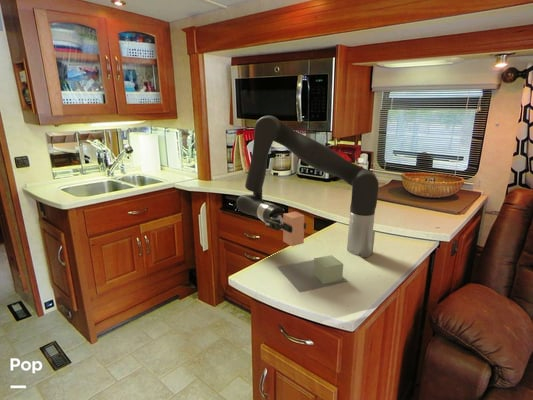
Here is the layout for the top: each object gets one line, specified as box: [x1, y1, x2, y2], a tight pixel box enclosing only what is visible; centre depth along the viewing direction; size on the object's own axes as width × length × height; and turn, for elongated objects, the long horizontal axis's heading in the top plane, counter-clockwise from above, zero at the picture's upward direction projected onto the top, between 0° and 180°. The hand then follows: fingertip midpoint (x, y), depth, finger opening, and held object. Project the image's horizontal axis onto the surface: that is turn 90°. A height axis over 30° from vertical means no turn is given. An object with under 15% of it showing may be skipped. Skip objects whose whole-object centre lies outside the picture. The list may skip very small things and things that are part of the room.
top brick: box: [282, 211, 305, 247], centre depth 116 cm, size 5×5×10 cm
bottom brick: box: [313, 254, 344, 284], centre depth 115 cm, size 7×7×6 cm
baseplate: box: [276, 259, 349, 293], centre depth 118 cm, size 18×18×1 cm
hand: (298, 228), depth 114 cm, fingers closed on top brick, 5 cm apart
